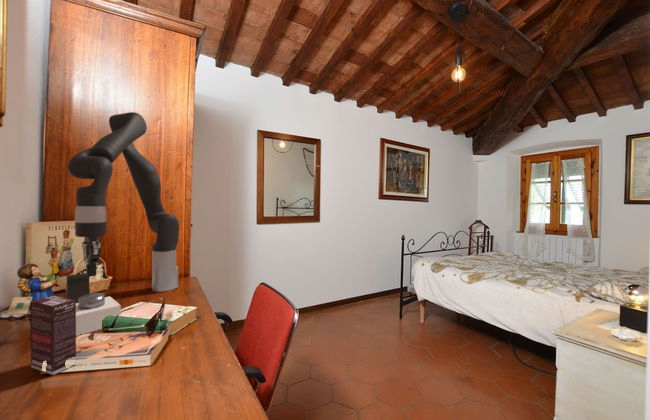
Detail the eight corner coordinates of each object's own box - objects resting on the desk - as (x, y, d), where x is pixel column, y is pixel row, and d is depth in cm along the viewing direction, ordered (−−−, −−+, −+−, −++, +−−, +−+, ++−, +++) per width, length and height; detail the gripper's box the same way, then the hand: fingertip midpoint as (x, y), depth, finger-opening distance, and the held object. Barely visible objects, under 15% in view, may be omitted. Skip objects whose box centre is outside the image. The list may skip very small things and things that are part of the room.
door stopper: (90, 308, 101) (90, 275, 100) (67, 313, 96) (67, 278, 96) (87, 301, 107) (87, 270, 107) (66, 305, 103) (66, 273, 102)
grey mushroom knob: (102, 316, 93) (101, 291, 92) (107, 322, 89) (107, 296, 88) (76, 323, 88) (76, 296, 88) (80, 329, 84) (80, 301, 83)
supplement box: (77, 364, 67) (77, 299, 67) (52, 376, 63) (51, 306, 62) (55, 357, 70) (54, 294, 70) (29, 367, 66) (28, 301, 65)
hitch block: (110, 313, 97) (110, 296, 97) (120, 323, 89) (120, 305, 89) (63, 324, 88) (62, 305, 87) (70, 337, 80) (70, 316, 80)
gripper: (111, 221, 86) (111, 277, 86) (101, 219, 94) (101, 270, 95) (79, 222, 80) (80, 282, 81) (71, 219, 89) (71, 274, 89)
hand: (91, 275), depth 88 cm, fingers closed
